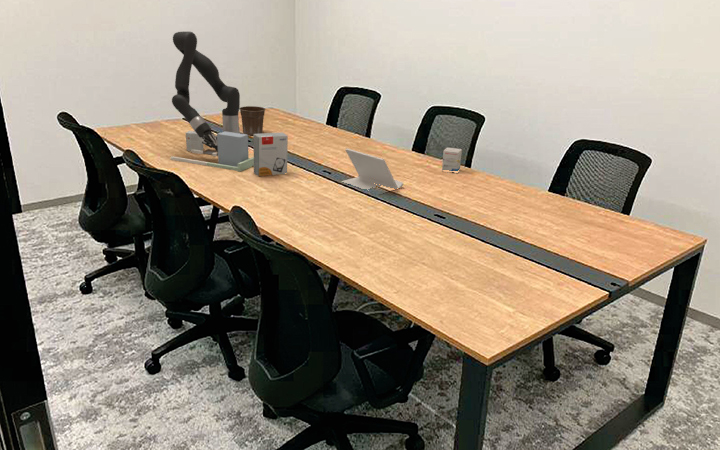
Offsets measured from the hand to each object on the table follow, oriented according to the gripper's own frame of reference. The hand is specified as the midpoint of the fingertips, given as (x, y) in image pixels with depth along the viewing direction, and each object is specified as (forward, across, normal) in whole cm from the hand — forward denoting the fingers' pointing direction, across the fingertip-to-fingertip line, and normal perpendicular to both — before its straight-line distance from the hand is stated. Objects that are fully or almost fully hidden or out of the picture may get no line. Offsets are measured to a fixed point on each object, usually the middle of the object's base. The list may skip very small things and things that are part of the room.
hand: (221, 152), depth 306 cm
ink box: (+84, +47, -76) cm, 122 cm away
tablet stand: (+64, +2, -56) cm, 85 cm away
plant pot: (-11, +66, +19) cm, 70 cm away
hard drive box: (+27, -5, -19) cm, 33 cm away
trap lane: (+1, +2, +6) cm, 7 cm away
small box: (-15, +13, +23) cm, 30 cm away
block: (+9, 0, -2) cm, 9 cm away
